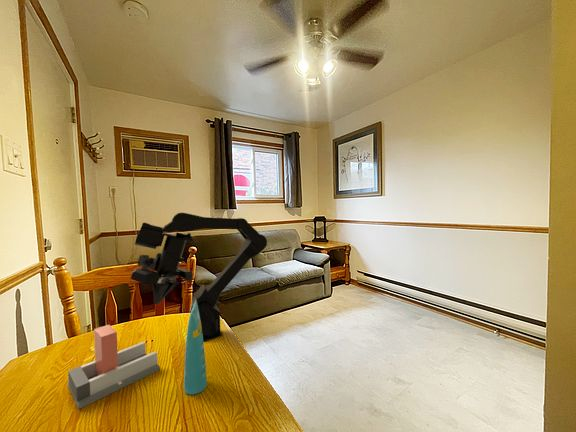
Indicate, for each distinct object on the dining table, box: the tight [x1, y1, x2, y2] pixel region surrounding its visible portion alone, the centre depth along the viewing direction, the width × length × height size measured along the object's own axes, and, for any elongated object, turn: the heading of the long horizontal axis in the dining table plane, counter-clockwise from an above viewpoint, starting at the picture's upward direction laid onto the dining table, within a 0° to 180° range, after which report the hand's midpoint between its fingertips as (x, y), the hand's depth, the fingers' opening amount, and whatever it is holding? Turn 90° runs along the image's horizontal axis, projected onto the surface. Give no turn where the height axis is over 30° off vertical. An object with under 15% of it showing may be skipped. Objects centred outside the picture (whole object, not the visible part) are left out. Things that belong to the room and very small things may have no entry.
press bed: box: [67, 341, 160, 410], centre depth 60 cm, size 16×11×4 cm
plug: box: [93, 324, 118, 376], centre depth 59 cm, size 3×6×11 cm, turn 50°
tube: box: [183, 300, 208, 396], centre depth 56 cm, size 7×5×19 cm, turn 20°
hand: (156, 303), depth 73 cm, fingers closed
